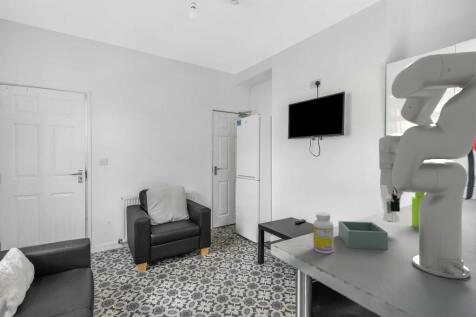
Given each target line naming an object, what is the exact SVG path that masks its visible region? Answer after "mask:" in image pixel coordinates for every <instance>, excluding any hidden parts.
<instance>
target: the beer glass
mask: <svg viewBox="0 0 476 317" xmlns="http://www.w3.org/2000/svg"><path fill="white" fill-rule="evenodd" d="M393 193H396V191H395V189H394V190H393ZM394 196H395V195H393V197H394ZM401 198H402V197H401ZM401 198H400V201H401V200H402V199H401ZM380 200H381V205H383V206H382V209H383V213H382V214H383V215H382V221H383V222H387V223H400V222H401V219H400V215H399V214H400V213H399V212H392V211H391V209H390V201H391V194H389V193H388V189H387V185H383V184H381V189H380Z"/></svg>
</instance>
